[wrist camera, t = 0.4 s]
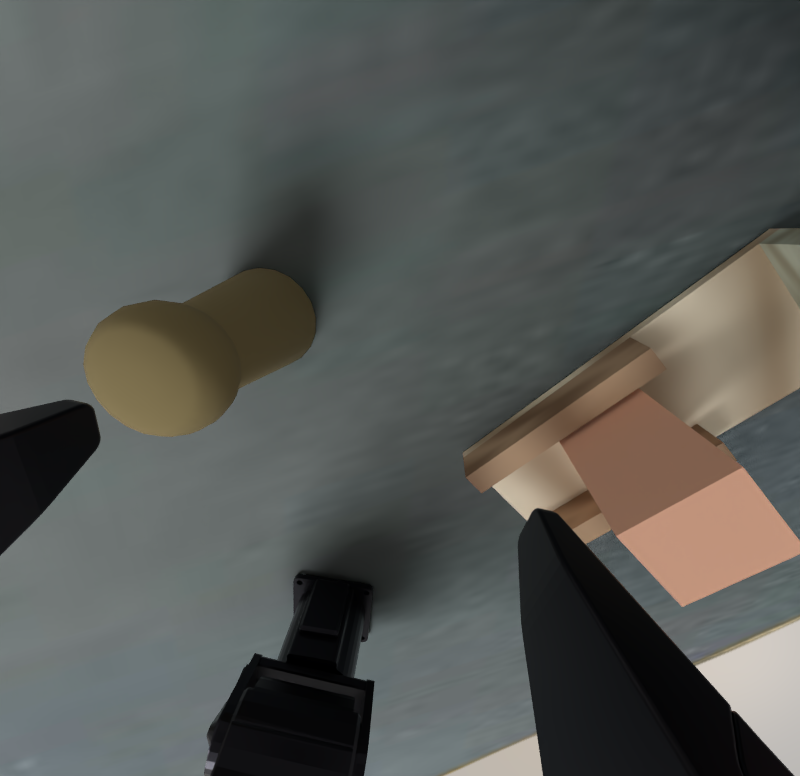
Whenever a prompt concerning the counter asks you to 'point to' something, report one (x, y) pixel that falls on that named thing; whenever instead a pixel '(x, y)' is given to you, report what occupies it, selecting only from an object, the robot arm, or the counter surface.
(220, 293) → the cork
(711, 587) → the block
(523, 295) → the counter surface
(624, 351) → the chute
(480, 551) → the counter surface
